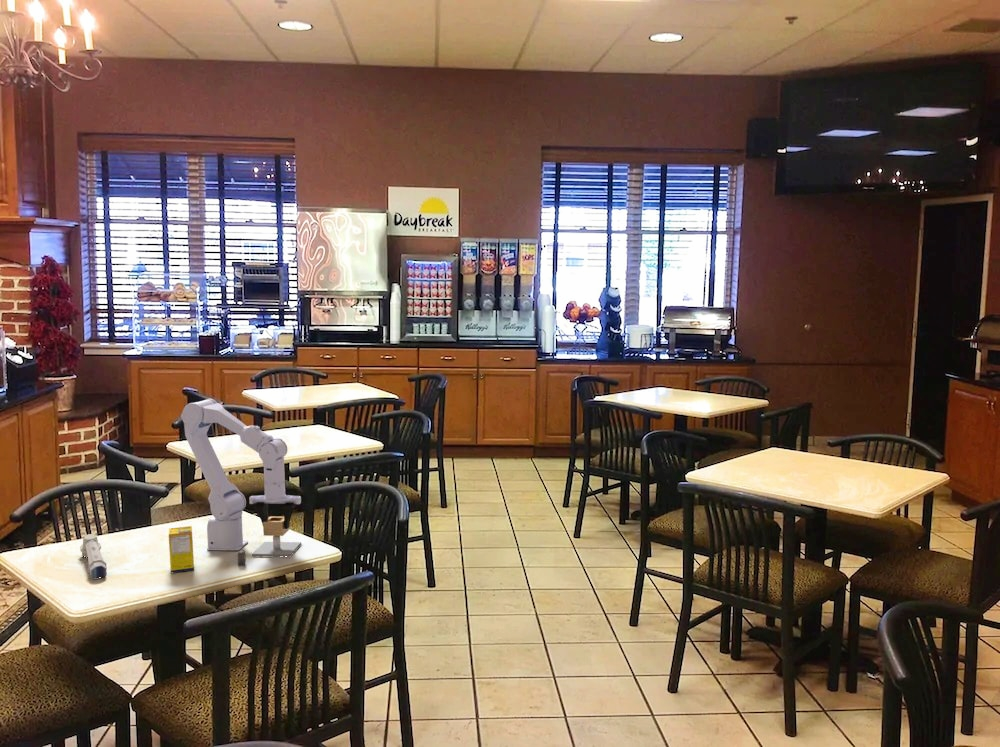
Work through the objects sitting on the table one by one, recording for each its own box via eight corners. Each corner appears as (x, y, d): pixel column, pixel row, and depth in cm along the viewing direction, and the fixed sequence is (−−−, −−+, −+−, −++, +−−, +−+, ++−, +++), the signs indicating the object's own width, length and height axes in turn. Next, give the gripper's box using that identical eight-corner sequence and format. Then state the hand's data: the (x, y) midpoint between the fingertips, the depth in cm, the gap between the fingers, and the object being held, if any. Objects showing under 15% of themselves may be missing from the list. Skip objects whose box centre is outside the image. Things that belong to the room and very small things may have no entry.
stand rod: (236, 565, 230) (236, 553, 229) (239, 563, 232) (238, 550, 231) (243, 565, 230) (243, 553, 229) (246, 563, 232) (246, 550, 231)
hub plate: (251, 556, 237) (251, 541, 237) (264, 544, 248) (264, 530, 248) (289, 557, 237) (289, 542, 236) (301, 544, 247) (300, 530, 247)
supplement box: (193, 563, 231) (191, 525, 230) (194, 570, 226) (192, 531, 225) (170, 566, 229) (168, 527, 228) (170, 573, 224) (168, 534, 223)
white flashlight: (87, 567, 218) (78, 530, 239) (88, 590, 220) (79, 552, 240) (109, 563, 221) (98, 527, 241) (110, 587, 222) (99, 548, 243)
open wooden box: (263, 535, 239) (263, 521, 239) (270, 529, 245) (269, 516, 244) (282, 535, 239) (282, 522, 238) (288, 529, 244) (288, 516, 244)
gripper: (244, 485, 236) (246, 531, 238) (295, 485, 236) (296, 532, 237) (253, 479, 243) (255, 524, 245) (302, 479, 243) (304, 525, 244)
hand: (276, 527), depth 242 cm, fingers closed on open wooden box, 6 cm apart
